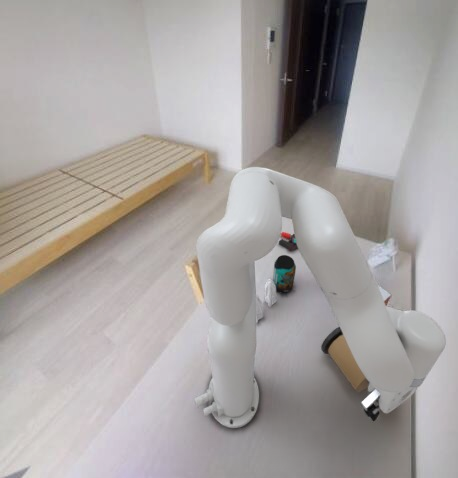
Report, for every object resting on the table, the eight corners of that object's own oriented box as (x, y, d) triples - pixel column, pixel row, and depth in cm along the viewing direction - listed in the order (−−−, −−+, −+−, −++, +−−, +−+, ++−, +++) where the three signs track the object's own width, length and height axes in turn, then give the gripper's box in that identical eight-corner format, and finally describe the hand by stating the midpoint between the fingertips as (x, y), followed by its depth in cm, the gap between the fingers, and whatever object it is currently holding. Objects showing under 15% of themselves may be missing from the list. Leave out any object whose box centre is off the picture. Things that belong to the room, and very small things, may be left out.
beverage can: (291, 297, 90) (295, 272, 84) (270, 291, 92) (273, 267, 87) (294, 280, 96) (297, 256, 90) (274, 275, 98) (276, 251, 92)
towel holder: (368, 428, 61) (379, 407, 56) (318, 356, 74) (324, 334, 69) (398, 404, 64) (411, 383, 60) (345, 340, 78) (352, 318, 73)
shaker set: (270, 291, 92) (272, 269, 87) (280, 299, 90) (283, 276, 84) (246, 315, 85) (247, 291, 80) (256, 324, 82) (258, 301, 77)
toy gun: (309, 240, 113) (311, 231, 111) (291, 254, 107) (292, 245, 105) (291, 228, 120) (292, 220, 118) (273, 241, 114) (273, 232, 111)
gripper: (390, 406, 48) (367, 445, 56) (450, 361, 54) (422, 402, 62) (356, 364, 54) (341, 404, 62) (414, 327, 60) (393, 368, 68)
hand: (381, 403), depth 62 cm, fingers open, 7 cm apart
